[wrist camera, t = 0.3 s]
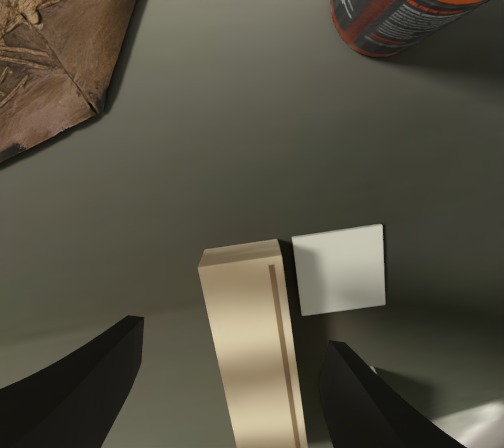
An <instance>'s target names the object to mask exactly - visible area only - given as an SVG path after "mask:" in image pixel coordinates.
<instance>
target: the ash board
mask: <svg viewBox="0 0 504 448" xmlns="http://www.w3.org/2000/svg"><path fill="white" fill-rule="evenodd" d="M198 271H199V275H200V280H201V284H202V289H203V294H204V298H205V303H206V307H207V312H208V317H209V321H210V326H211V330H212V335H213V340H214V344H215V349H216V353H217V358H218V362H219V367H220V372H221V376H222V381H223V385H224V390H225V395H226V399H227V404H228V408H229V413H230V418H231V422H232V427H233V431H234V436H235V440H236V445H237V448H308V446H307V439H306V432H305V424H304V417H303V409H302V402H301V395H300V387H299V380H298V372H297V365H296V358H295V350H294V343H293V335H292V328H291V321H290V313H289V306H288V299H287V291H286V284H285V276H284V269H283V262H282V255H281V251H280V247H279V244H278V240H277V239H273V240H267V241H260V242H253V243H246V244H239V245H233V246H226V247H219V248H212V249H205V251H204V253H203V256H202V258H201V261H200V263H199V266H198Z"/></svg>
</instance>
